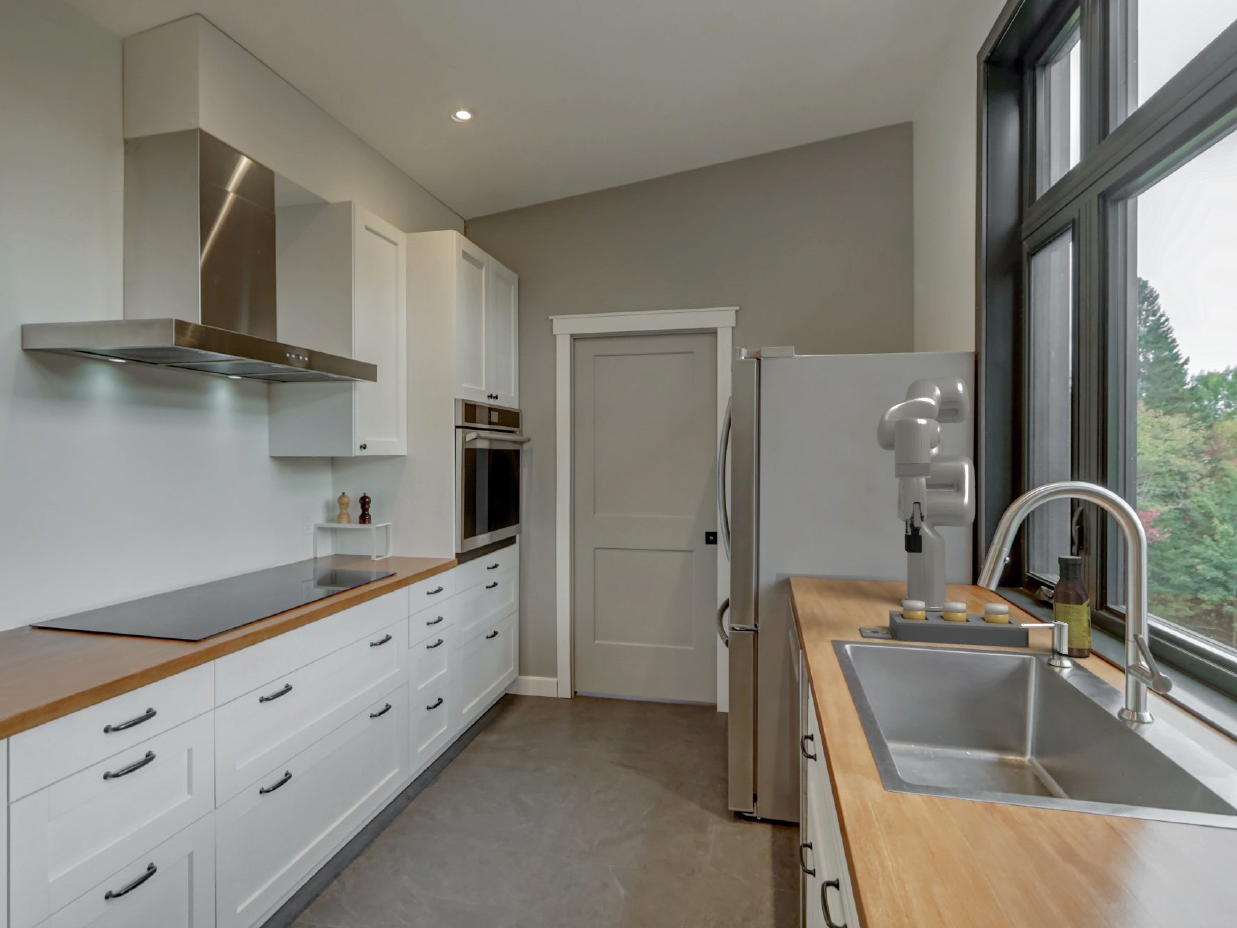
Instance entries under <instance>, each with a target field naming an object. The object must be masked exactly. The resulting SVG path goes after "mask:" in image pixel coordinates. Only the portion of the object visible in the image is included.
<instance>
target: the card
mask: <svg viewBox="0 0 1237 928" xmlns="http://www.w3.org/2000/svg"><path fill="white" fill-rule="evenodd" d="M859 631H860V632H861V635H862V638H863V639H880V640H881V639H882V640H892V639H893V638H892V635H891V634H890V631H889V630H888V628H882V627H881V628H880V627H879V628H878V627H864V626H863V627H859Z"/></svg>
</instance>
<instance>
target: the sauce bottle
mask: <svg viewBox="0 0 1237 928" xmlns="http://www.w3.org/2000/svg"><path fill="white" fill-rule="evenodd" d="M1057 563H1058V565H1059V566H1058V567H1059V569H1058V570H1059V574H1058V576H1059V577H1058V578H1059V579H1058V581H1057V582H1056V584H1055V585H1054V587H1053V603H1052V605H1053V608H1052V609H1053V623H1054V622H1057V621H1061V622H1064V623H1067V624H1068V655H1069V656H1068V657H1077V658H1079V657H1080V658H1081V657H1082V658H1085V657H1089V656H1090V655H1091V648H1092V625H1091V624H1092V623H1091V599H1090V595H1089V591H1088V590H1087V586H1086V584H1085V582H1084V580H1083V576H1082V564H1083V560H1082V557H1081V556H1075V555H1061V556H1058V557H1057Z"/></svg>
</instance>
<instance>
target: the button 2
mask: <svg viewBox="0 0 1237 928" xmlns="http://www.w3.org/2000/svg"><path fill="white" fill-rule="evenodd" d="M984 614H985V622H986V623H1000V624H1009V620H1008V615H1009V605H1008V604H1003V603H997V602H995V603H994V602H992V603H991V602H989V603H984Z"/></svg>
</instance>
